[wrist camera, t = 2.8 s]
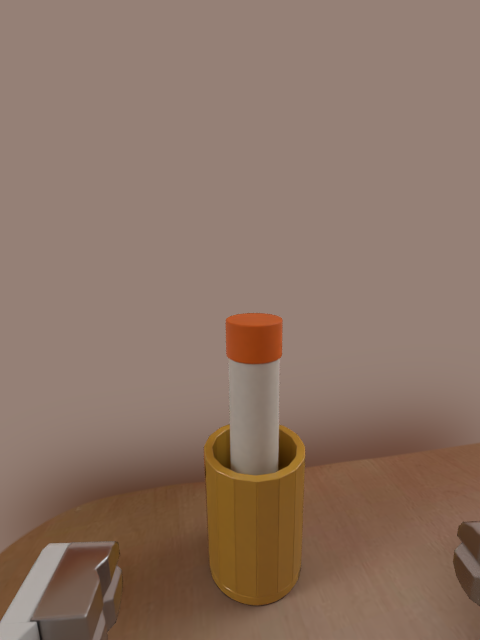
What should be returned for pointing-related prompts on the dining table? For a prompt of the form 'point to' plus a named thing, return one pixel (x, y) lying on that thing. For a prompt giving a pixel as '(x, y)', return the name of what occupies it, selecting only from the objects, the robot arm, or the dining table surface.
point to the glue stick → (254, 391)
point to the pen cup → (254, 521)
